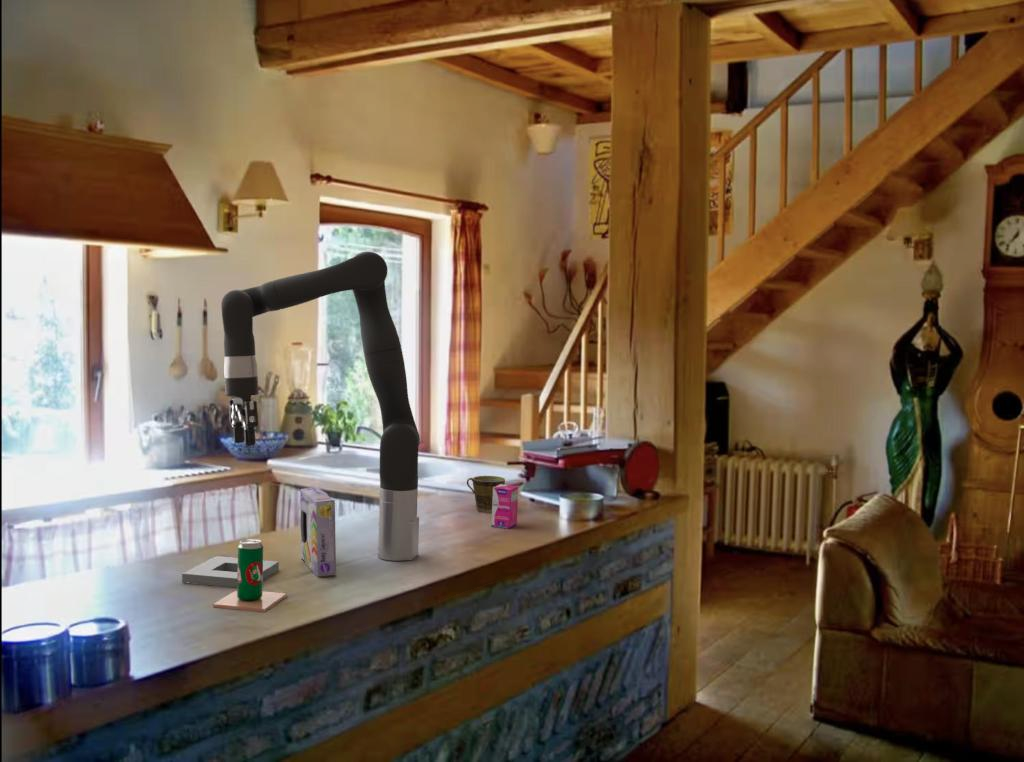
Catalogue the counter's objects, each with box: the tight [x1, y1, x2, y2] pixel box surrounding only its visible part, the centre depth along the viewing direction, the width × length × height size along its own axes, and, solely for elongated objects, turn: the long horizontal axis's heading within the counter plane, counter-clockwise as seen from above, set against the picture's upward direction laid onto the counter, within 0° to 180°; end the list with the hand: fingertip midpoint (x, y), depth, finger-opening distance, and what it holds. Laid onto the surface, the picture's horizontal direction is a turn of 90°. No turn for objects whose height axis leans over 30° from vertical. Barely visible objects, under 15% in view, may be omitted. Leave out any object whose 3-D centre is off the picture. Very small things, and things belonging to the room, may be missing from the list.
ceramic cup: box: [466, 475, 506, 514], centre depth 302 cm, size 13×10×10 cm
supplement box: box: [491, 484, 519, 530], centre depth 282 cm, size 6×6×12 cm
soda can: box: [236, 538, 264, 601], centre depth 204 cm, size 5×5×12 cm
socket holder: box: [181, 555, 280, 588], centre depth 222 cm, size 16×16×2 cm
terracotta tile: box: [212, 589, 288, 613], centre depth 204 cm, size 11×11×1 cm
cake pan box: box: [299, 486, 337, 578], centre depth 232 cm, size 19×5×18 cm, turn 23°
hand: (244, 444), depth 234 cm, fingers open, 8 cm apart
